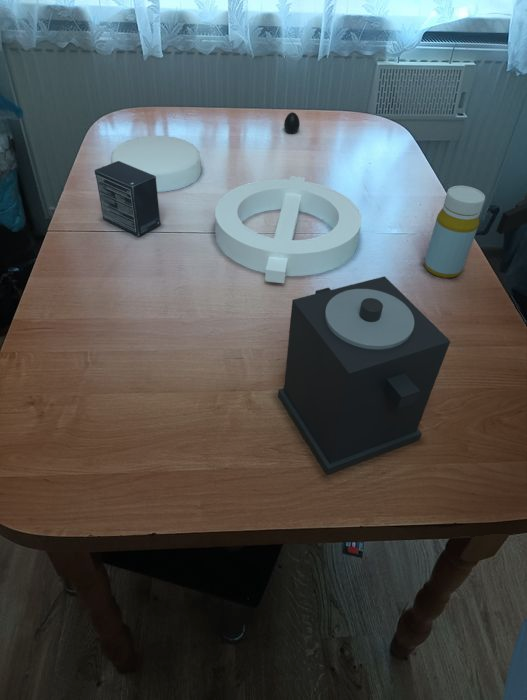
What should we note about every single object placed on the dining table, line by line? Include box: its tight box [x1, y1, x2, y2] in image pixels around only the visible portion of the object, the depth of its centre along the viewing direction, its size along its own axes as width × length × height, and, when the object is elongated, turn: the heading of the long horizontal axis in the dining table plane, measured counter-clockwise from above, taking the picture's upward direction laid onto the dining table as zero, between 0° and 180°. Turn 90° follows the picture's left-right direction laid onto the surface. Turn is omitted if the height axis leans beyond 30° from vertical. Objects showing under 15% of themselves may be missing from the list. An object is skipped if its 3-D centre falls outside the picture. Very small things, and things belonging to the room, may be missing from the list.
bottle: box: [423, 185, 486, 279], centre depth 95 cm, size 7×7×15 cm
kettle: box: [277, 276, 451, 476], centre depth 67 cm, size 20×15×20 cm
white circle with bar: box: [214, 175, 362, 284], centre depth 105 cm, size 28×28×5 cm
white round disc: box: [110, 135, 202, 193], centre depth 123 cm, size 20×20×5 cm
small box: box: [94, 161, 162, 237], centre depth 104 cm, size 11×6×10 cm, turn 53°
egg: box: [283, 111, 301, 135], centre depth 143 cm, size 4×4×5 cm
